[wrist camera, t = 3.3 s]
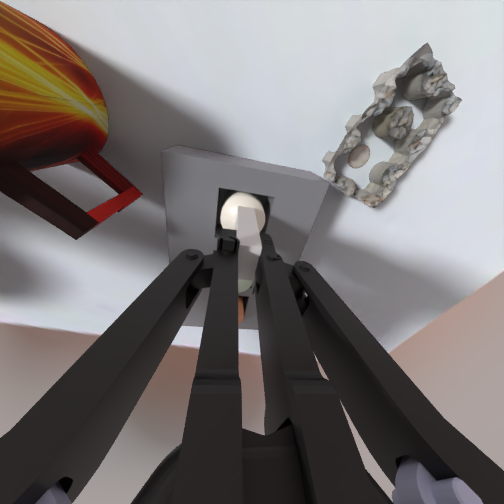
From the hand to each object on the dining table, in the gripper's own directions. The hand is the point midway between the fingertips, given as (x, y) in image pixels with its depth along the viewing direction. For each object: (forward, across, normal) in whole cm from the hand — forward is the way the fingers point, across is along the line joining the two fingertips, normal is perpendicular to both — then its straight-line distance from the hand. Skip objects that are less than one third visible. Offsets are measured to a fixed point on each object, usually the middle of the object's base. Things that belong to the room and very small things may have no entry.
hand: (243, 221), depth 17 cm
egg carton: (+6, +12, +8) cm, 16 cm away
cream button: (+3, 0, 0) cm, 3 cm away
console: (+6, 0, -6) cm, 9 cm away
